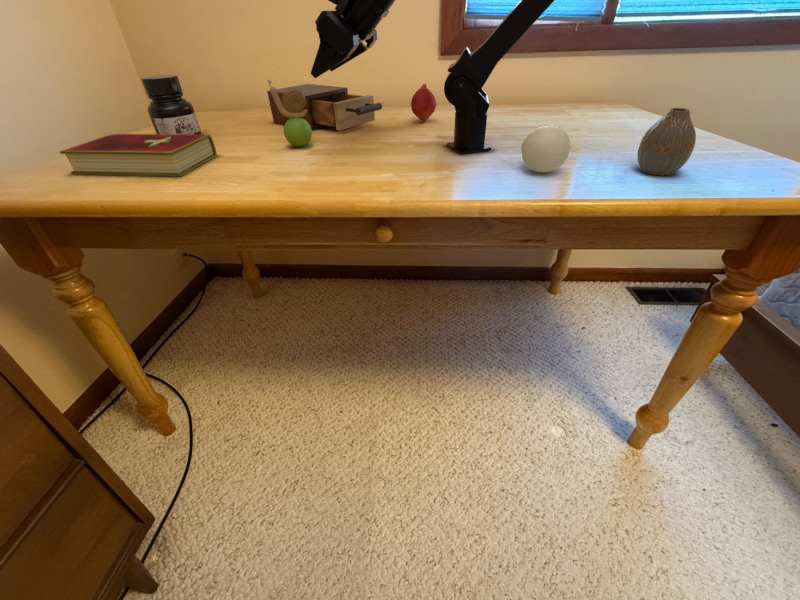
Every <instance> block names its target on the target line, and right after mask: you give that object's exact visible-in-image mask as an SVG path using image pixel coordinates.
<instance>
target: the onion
mask: <svg viewBox="0 0 800 600" xmlns="http://www.w3.org/2000/svg"><path fill="white" fill-rule="evenodd" d="M410 107H411V112H412V113H413V114H414V115H415V117H416V118H417V119H419V120H420V121H421V122H426V121H428V119H429V118H430V117H431V116H432V115H433V114H434V113H435V111H436V108H437V100H436V97H435V95H434V94H433V92H432V91H431V89H429V88H428V86H427V83H423V84H422V85H421V87H419V88H418V89H417V91H415V93H414V94H413V96H412V97H411V101H410Z"/></svg>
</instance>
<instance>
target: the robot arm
mask: <svg viewBox="0 0 800 600" xmlns="http://www.w3.org/2000/svg"><path fill="white" fill-rule="evenodd" d="M327 1H328V2H330V3H332V4H334V5H336V6H335V7H334V10H322V11H320V13H319V14H318V16H317V18H316V20H315V21H314V23H315V25H316V26H315V29H316V32H317V34H318V38H319V44H318V49H317V52H316V54H315V57H314V61H313V64H312V67H311V69H310V75H311V76H312V77H313V78H314V79H317V78H319V77H320V76H322V75H323V74H325V73H326V72H329V71H330V72H334V71H335V70H337V69H339V68H340V67H342V66H343V65H345V64H347V63H348V62H350V61H352V60H353V59H355V58H357V57H359V56H360V55H362V54H363V53H366V52H367V51H368V50H369V49H372V47H373V46H374V44H375V43H376V42H377V40H378V31H377V29H376V28H377V27H378V25H379V24H380V22H382V20H383V19H384V18H387V17H388V15H389V13H390V9H391V7H392V6H393V5H394V3H395V2H396V0H327ZM554 2H555V0H519V1H518V2H517V4H516V5H515V6H514V7H513V8H512V9H511V10H510V12H509V13H508V14H507V15H506V16H505V17H504V18H503V20H502V21H501V22H500V23H499V24H498V25H497V26H496V27H495V29H494V30H493V32H491V34H489V36H487V38H486V40H485V41H484V42H483V43H482V44H480V45H479V46H478V47H477V48H476V49H474V50H473V51H472V52H471V50H470V48H469V47H468V46H465V47H464V49H463V50H462V52H461V54H460V55H459V57H458V58H457V59H456V60H455V62H453V63H451V64H450V65H449V66H448V68H447V72H448V74H447V76H446V78H445V81H444V84H443V85H444V86H443V93H444V97H445V99H446V100H447V101H448V103H449V104H451V105H452V106H454V107H453V108H454V110H455V112H454V129H453V141H450V142H446V147H448V148H450V149H451V150H453V151H454V152H456V153H457V154H460V155H463V154H471V153H472V154H473V153H479V152H487V151H492V148H493V147H492V146H490V145H489V144H487V143H485V142H486V133H487V123H488V122H487V121H488V111H489V108H490V101H489V95H488V94H487V93H486V92H485V90H484V89H483V87H484V86H485V84H486V83H487V81H488V80H489V78H490V76H491V74H492V73H493V71H494V69H495V68H496V66H497V65H498V63H499V62H500V61H501V60H502V59H503V57H504V56H505V55H506V54H507V53H508V52H510V50H511V49H512V48H513V47H514V45H515V44H516V43H517V42H518V41H519V40H520V39H521V38H522V37H523V36H524V34H526V32H527V31H529V29H530V28H531V27H532V26H533V25H534V24H535V22H537V20H538V19H539V18H540V17H541V16H542V15H543V14H544V12H545V11H546V10H548V8H549V7H550V6H551V5H552V4H553V3H554ZM364 42H365V43H366V45H365V44H364Z"/></svg>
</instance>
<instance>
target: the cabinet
mask: <svg viewBox="0 0 800 600" xmlns="http://www.w3.org/2000/svg"><path fill="white" fill-rule="evenodd" d="M289 88H296V89H298V90H300V91H301V92H302V93H303V94H304V96H305V99H306V106H305V108H304V109H303V110H307V113H306V114H305V115H304V116H303V117H301V118H303V119H305V120H306V121H307V122H308V123H309V125H310V127H311V129H312V131H314V130H318V129H321V128H325V127H328V126H327V125H321V124H316V123H313V116H312V110H311V103H310V99H314V98H318V97H323V96H328V95H333V94H338V93H342V94H349V89H348V87H343V86H336V85H335V86H334V85H323V84H313V83H305V84H300V85H293V86H288V87H282V88H277V90H278V96H279V98H280V100H281V99H282V95H283V93H284V92H285V91H286V90H287V89H289ZM266 94H267V97H268V102H269V107H270V111H271V115H272V120H273V123H274V124H278V125H283V126H284V125H285V123H286V122H287V121H288V120H289V119H290V118H288V117H286V116H284V115H283V114H281V112H280V111H279V110H278V108H277V106H276V104H275V101H274V99H273V96H272V94H271V91H270V90H267V91H266Z"/></svg>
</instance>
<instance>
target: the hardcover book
mask: <svg viewBox="0 0 800 600" xmlns="http://www.w3.org/2000/svg"><path fill="white" fill-rule="evenodd" d="M59 153H60V154H61V155H65V157H66V158H67V160H68V162H69V163H70V166H71V168H72V169H73V171H71V172H70V173H71V175H79V176H81V175H82V176H83V175H84V176H130V177H131V176H132V177H175V178H176V177H177V178H180V177H183V176H184V175H186V174H188V173H190V172H191V171H194V170H195V169H196V168H199V167H200V166H202V165H204V164H206V163H207V162H209V161H211V160H213V159H214V158H216V157H217V156H218V154H217V149H216V145H215V142H214V139H213V137H212V135H211V134H201V135H194V134H156V133H152V134H151V133H109V134H106V135H104V136H100V137H97V138H95V139H92V140H89V141H86V142H82V143H80V144H77V145H74V146H71V147H68V148H65V149H63V150H60V151H59Z"/></svg>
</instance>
